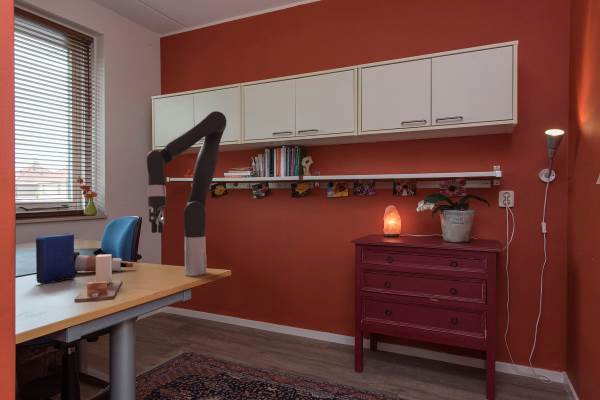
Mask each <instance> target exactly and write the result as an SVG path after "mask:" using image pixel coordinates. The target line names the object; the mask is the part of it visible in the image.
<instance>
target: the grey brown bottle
mask: <svg viewBox="0 0 600 400" xmlns="http://www.w3.org/2000/svg"><path fill="white" fill-rule="evenodd" d="M96 256H97V255H95V256H94V255H83V254H80V252H79V251H74V266H75V273H76V274H77V273H78V272H96ZM133 267H134V262H123V258H119V257H118V258H117V257H116V258H115V257H112V272H121V270H122V268H129V269H131V268H132V269H133Z"/></svg>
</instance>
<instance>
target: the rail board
mask: <svg viewBox="0 0 600 400" xmlns="http://www.w3.org/2000/svg"><path fill="white" fill-rule="evenodd" d="M122 284H123V280H122V279H119V280H111V281H110V282H109V284H107V281H101V282H96V281H90V282H87V284H86V286H84V287H83V289H82V290H81V291H80V292H79V293H78V294H77V296H76V297H75V298H74V303H80V302H81V303H82V302H93V301H105V300H114V299H115V298H116V296H117V293H118V291H119V289H120V287H121V285H122Z"/></svg>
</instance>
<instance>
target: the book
mask: <svg viewBox="0 0 600 400" xmlns="http://www.w3.org/2000/svg"><path fill="white" fill-rule="evenodd" d="M74 252H75V235H74V233H70V232H68V233H62V234H58V235H57V234H56V235H43V236H42V235H41V236H38V237H36V239H35V259H36V262H35V263H36V264H35V265H36V269H35V270H36V272H35V273H36V282H37V283H38V284H41V285H43V284H49V283H55V282H60V281H61V282H62V281H67V280H72V279H74V278H76V274H77V273H75V266H74Z"/></svg>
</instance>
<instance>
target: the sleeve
mask: <svg viewBox="0 0 600 400" xmlns="http://www.w3.org/2000/svg"><path fill="white" fill-rule="evenodd" d="M95 256H96V271H95V282H101V281H107V284H109V282H110V281H112V279H113V271H112V258H113V257H112V256H113V255H112V253H110V254H109V253H108V254H98V255H95Z"/></svg>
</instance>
